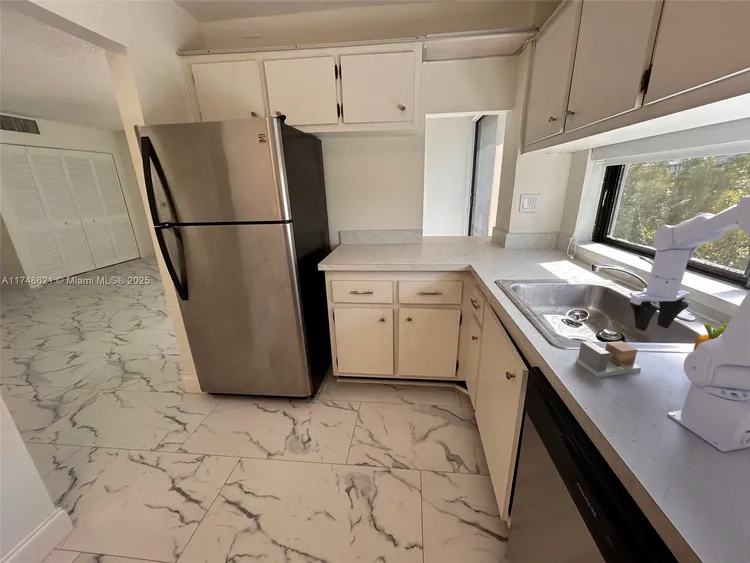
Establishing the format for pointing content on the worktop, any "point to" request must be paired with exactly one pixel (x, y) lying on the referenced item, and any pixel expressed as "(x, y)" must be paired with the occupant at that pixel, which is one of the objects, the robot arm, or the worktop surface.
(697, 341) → the carrot
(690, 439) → the worktop surface
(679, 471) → the worktop surface
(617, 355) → the block
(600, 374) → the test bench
